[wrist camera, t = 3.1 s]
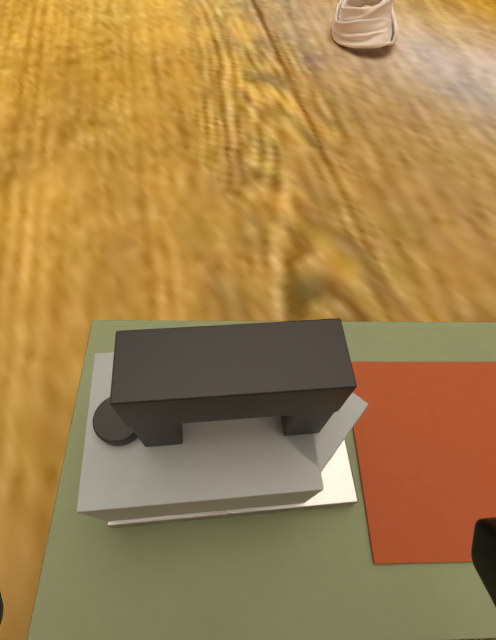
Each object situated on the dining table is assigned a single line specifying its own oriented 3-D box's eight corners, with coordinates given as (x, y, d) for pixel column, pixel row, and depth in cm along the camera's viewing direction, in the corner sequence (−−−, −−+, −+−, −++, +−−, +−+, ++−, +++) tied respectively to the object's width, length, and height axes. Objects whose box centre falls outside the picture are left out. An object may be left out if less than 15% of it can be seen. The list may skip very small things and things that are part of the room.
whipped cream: (400, 65, 42) (425, 12, 37) (340, 62, 40) (359, 7, 36) (376, 22, 45) (397, -32, 41) (320, 17, 44) (335, -38, 39)
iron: (111, 528, 18) (1, 500, 9) (121, 391, 21) (47, 274, 12) (353, 505, 19) (462, 460, 10) (327, 377, 22) (393, 259, 13)
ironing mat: (553, 326, 25) (562, 320, 24) (695, 629, 17) (713, 632, 17) (94, 324, 24) (91, 318, 23) (28, 652, 16) (21, 655, 15)
